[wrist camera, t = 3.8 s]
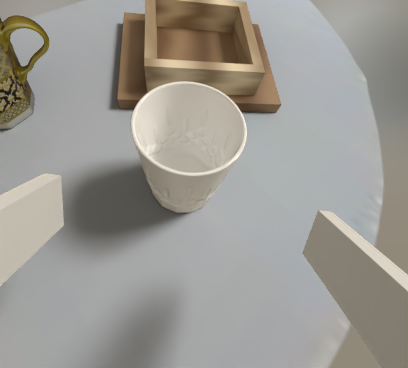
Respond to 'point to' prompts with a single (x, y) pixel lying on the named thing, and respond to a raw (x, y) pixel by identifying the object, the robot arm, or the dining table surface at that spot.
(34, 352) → the dining table surface
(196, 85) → the white cup
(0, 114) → the ceramic cup
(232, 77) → the tray
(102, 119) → the dining table surface
